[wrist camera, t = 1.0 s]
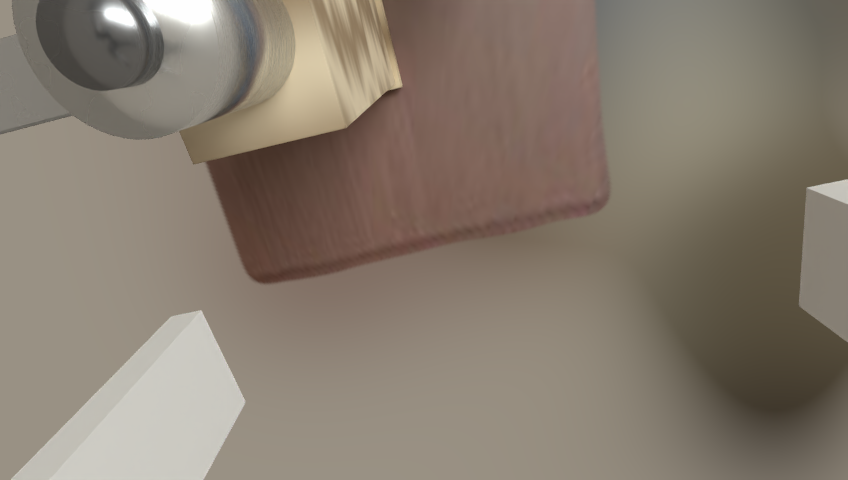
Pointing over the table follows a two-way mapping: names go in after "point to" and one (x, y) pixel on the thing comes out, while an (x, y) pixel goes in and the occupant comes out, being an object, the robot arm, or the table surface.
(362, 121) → the table surface
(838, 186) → the robot arm
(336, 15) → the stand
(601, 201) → the table surface
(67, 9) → the grey round-headed handle
